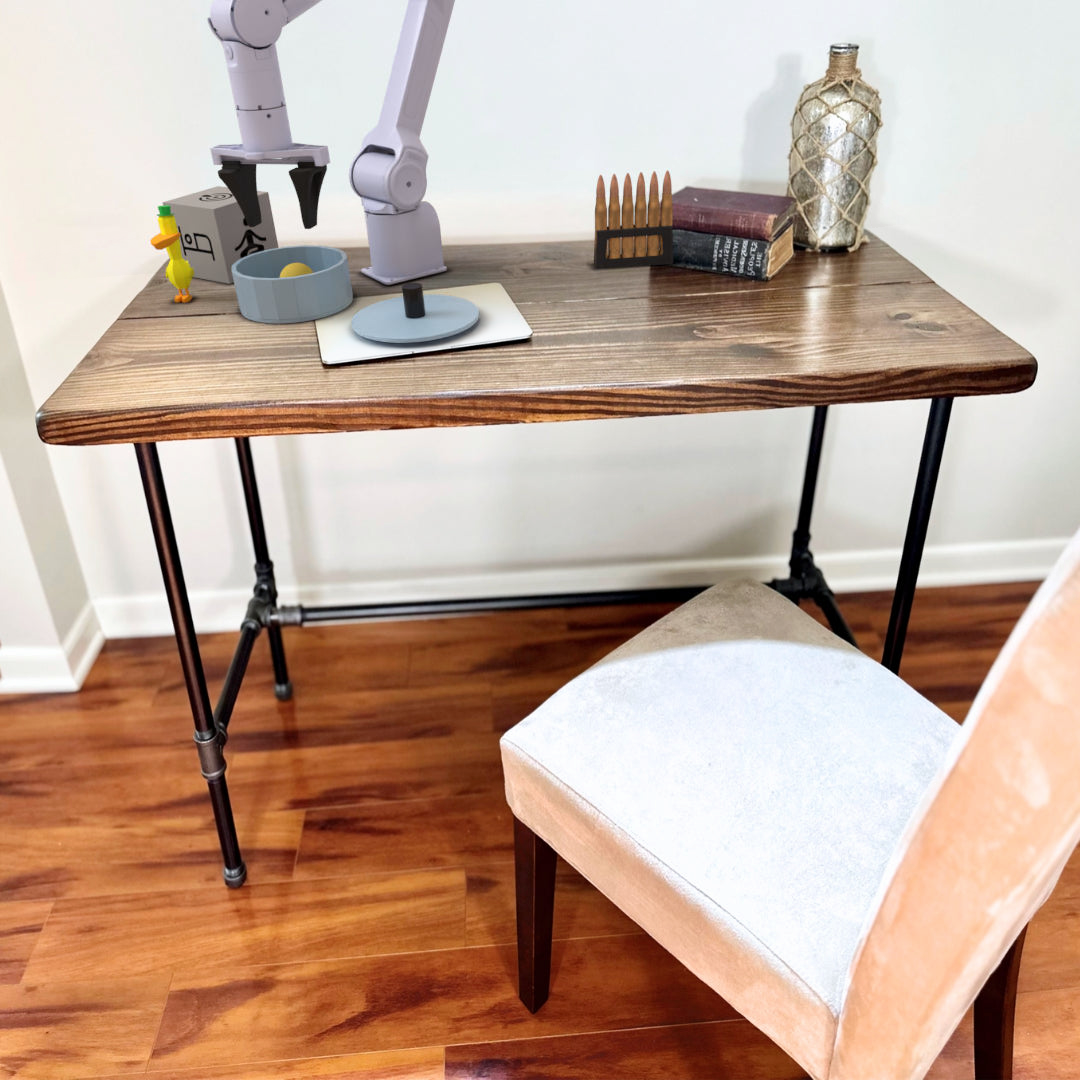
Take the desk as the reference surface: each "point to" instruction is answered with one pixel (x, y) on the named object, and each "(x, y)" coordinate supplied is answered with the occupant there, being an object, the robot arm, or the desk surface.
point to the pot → (292, 284)
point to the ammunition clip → (633, 224)
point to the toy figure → (173, 253)
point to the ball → (295, 270)
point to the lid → (415, 317)
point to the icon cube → (219, 231)
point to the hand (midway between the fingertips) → (282, 226)
